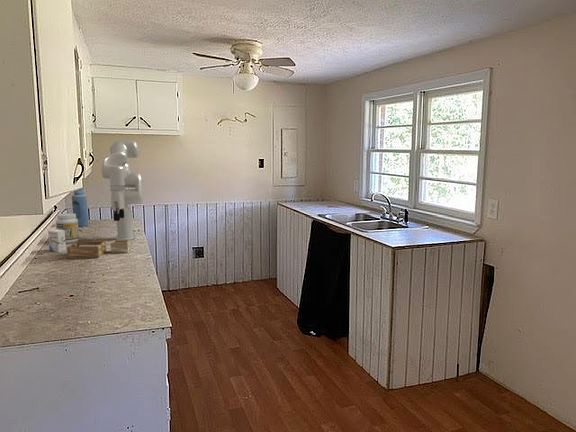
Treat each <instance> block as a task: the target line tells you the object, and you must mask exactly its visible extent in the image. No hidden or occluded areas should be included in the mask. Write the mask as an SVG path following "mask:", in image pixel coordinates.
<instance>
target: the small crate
mask: <svg viewBox="0 0 576 432" xmlns="http://www.w3.org/2000/svg"><path fill="white" fill-rule="evenodd" d="M130 252H131V240H115V239H113V240H112V241H111V242H110V253H111V254H129V253H130Z"/></svg>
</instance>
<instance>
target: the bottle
mask: <svg viewBox="0 0 576 432" xmlns="http://www.w3.org/2000/svg"><path fill="white" fill-rule="evenodd" d="M71 203H72V213H74V214H76V218H77V219H78V228H83V226H85V227H88V226H89V214H88V213H89V211H88V199H87V195H86V194H85V192H84V186H83V187H82V188H81V189H79V190H77V191H74V190H73V195H71Z"/></svg>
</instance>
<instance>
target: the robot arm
mask: <svg viewBox="0 0 576 432" xmlns="http://www.w3.org/2000/svg"><path fill="white" fill-rule="evenodd" d="M109 153H110V155H108V156H107V157H105V158H104V159H103V160H102V164H101V170H100V171H101V176H102V178H104V179H106V180H107V179H108V180H109V192H111V193H110V194H111V195H110V204H111V205H110V209H111V210H112V211H113V212H112V214H113V215H112V217H113V221H114V222H115V221H116V232H117V234H116V235H117V236H115V237H114V240H130V241H132V240H135V239H136V238H137V237H136V235H134V223H133V222H134V221H133V211H132V208H130V206H129V205H141V204H142V203H143V201H144V184H143V182H144V181H143V175H142V174H141V173H140V172H131V167H130V164H129V162H128V161H127V160H128V159H130V158H131V159H134V158H135V159H137V158H138V157H140V147H139V144H138V142H137V141H135V140H131V139H130V140H129V139H127V140H120V139H119V140H115V141H114V142H113V143H112V145H111V146H110V148H109ZM126 188H127V189H126ZM130 188H132V189H130Z"/></svg>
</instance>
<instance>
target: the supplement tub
mask: <svg viewBox="0 0 576 432" xmlns="http://www.w3.org/2000/svg"><path fill="white" fill-rule="evenodd" d="M56 216H57V217H56V218H57V219H56V221H55V223H56V225H55V227H56V229H59V230H64V231H65V243H66V244H70V243H72V244H73V243H75V242H79V239H80V234H79V232H80V230H79V227H78V219H77V218H76V214H74V213H73V212H70V213H68V212H67V213H59V214H57V215H56Z"/></svg>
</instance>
